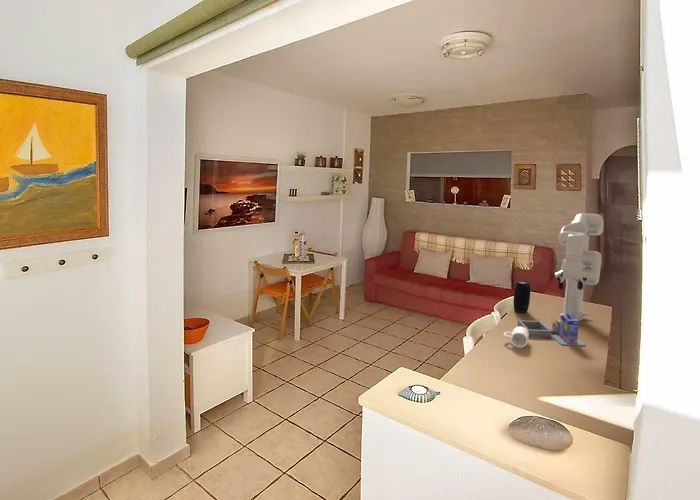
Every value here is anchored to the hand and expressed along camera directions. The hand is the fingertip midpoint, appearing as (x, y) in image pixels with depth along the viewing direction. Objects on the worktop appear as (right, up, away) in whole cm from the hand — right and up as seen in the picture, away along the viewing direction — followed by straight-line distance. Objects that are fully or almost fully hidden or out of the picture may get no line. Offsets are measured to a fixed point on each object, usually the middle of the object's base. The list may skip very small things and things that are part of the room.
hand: (570, 289), depth 219 cm
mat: (-3, -27, -3) cm, 27 cm away
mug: (-32, -27, -7) cm, 43 cm away
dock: (-9, -24, +9) cm, 28 cm away
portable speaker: (-9, -19, +43) cm, 48 cm away
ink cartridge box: (-3, -26, -3) cm, 27 cm away
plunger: (-1, -24, +8) cm, 25 cm away
